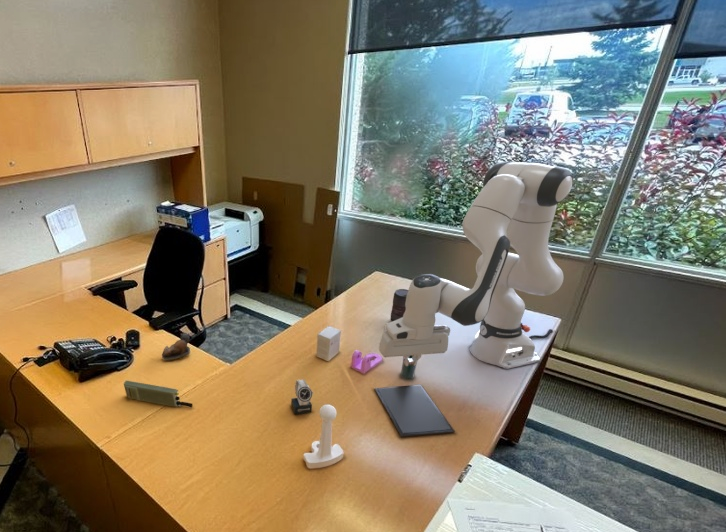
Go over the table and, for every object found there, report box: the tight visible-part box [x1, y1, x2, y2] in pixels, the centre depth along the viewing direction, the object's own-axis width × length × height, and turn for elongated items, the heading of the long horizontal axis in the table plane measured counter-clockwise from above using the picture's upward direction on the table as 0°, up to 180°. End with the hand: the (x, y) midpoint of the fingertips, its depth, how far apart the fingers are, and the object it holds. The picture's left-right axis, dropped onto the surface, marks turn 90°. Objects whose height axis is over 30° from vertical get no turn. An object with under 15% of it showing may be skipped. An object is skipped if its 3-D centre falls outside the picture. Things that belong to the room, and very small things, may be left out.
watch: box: [290, 379, 314, 415], centre depth 134 cm, size 6×8×11 cm
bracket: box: [350, 349, 383, 375], centre depth 154 cm, size 13×6×7 cm, turn 128°
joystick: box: [302, 404, 345, 469], centre depth 114 cm, size 11×8×20 cm
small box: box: [315, 325, 342, 362], centre depth 160 cm, size 8×6×10 cm
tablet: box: [374, 384, 455, 438], centre depth 133 cm, size 16×22×1 cm
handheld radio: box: [123, 380, 193, 408], centre depth 143 cm, size 7×3×25 cm
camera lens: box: [390, 288, 409, 322], centre depth 175 cm, size 8×8×15 cm
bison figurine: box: [161, 332, 191, 361], centre depth 165 cm, size 12×7×10 cm, turn 106°
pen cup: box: [400, 355, 418, 380], centre depth 146 cm, size 4×4×9 cm
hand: (409, 364), depth 131 cm, fingers closed
